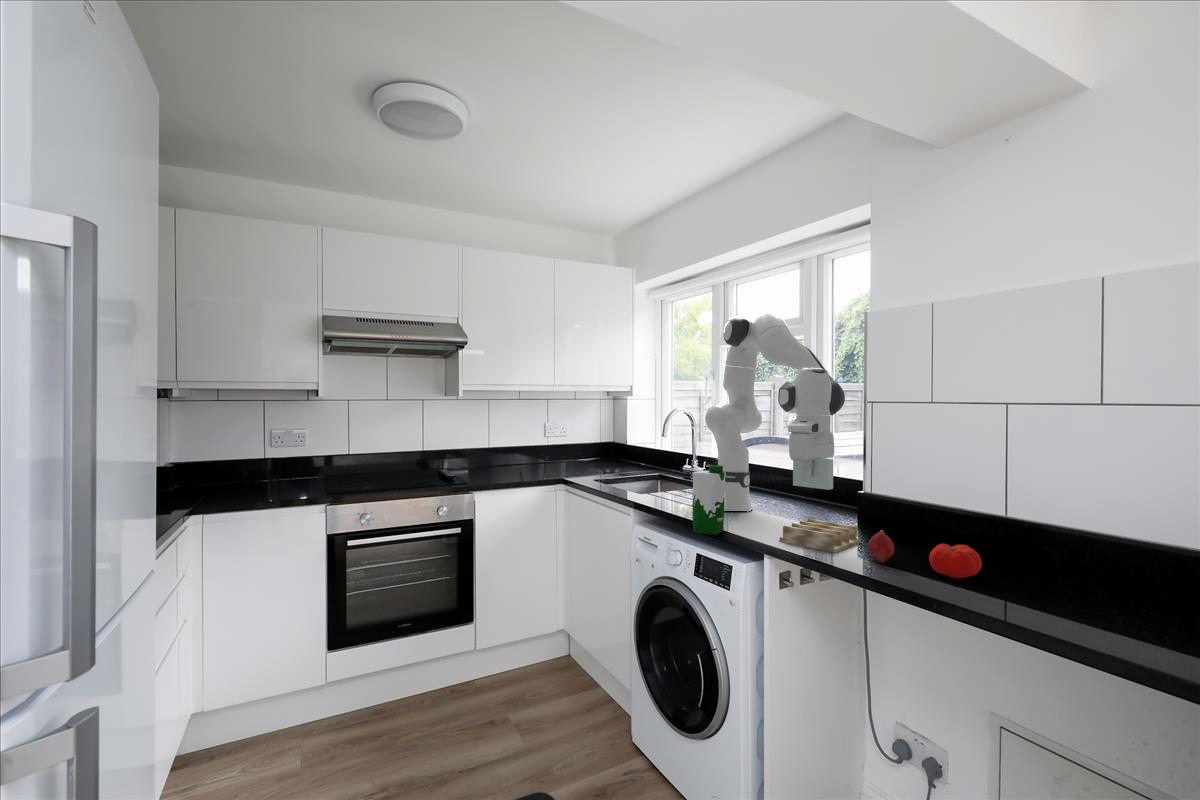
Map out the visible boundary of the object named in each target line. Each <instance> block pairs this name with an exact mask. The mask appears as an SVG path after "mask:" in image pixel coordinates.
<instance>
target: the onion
mask: <svg viewBox="0 0 1200 800" xmlns="http://www.w3.org/2000/svg"><path fill="white" fill-rule="evenodd" d="M884 531H885V530H883V529H882V530H881V529H880V530H879V532H877V533H875V534H874V535H873V536H871V538H870V539H869V540H868V543H867V549H868V551H869V554H870V555H871V556H872V557H873V558H874V559H875V560H877V562H879V563H880V564H881V563H882V564H883V563H884V562H886V561H888V560H889V559H890V558H891V557H893V555H894V554H895V545H894V542H893V541H892V539H891V538H890V537H889V536H888V535H886V534H885V532H884Z"/></svg>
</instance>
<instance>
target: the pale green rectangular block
mask: <svg viewBox="0 0 1200 800" xmlns="http://www.w3.org/2000/svg"><path fill="white" fill-rule="evenodd" d="M811 467H812V470H813V476H811V477H807V476H805V470H804V467H803V464H802V461H794V460H792V486H796V487H804V488H810V489H819V490H820V489H821V490H828V491H829V490H834V459H833V458H825V459H824V458H819V459H816V460H812V464H811Z"/></svg>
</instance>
